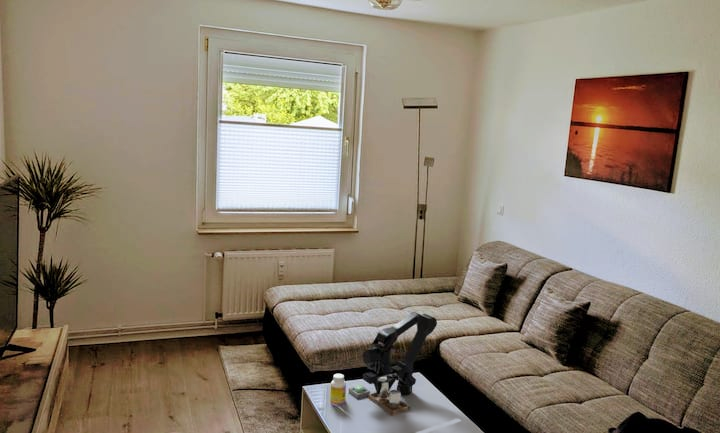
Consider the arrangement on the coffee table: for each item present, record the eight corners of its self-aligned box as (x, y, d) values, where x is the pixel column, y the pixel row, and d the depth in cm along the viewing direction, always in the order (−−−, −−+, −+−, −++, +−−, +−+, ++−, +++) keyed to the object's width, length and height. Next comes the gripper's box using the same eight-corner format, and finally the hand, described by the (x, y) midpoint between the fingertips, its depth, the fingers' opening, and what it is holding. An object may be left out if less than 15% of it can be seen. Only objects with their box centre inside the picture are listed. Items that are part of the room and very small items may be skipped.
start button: (360, 391, 259) (360, 384, 258) (365, 395, 255) (366, 388, 255) (352, 393, 257) (352, 386, 256) (357, 397, 253) (358, 390, 252)
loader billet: (395, 403, 248) (396, 388, 246) (402, 408, 243) (403, 393, 242) (386, 406, 245) (386, 391, 244) (393, 411, 241) (393, 396, 240)
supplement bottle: (343, 407, 245) (344, 379, 243) (328, 405, 246) (329, 378, 244) (346, 400, 251) (347, 373, 249) (332, 398, 253) (333, 371, 251)
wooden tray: (384, 395, 258) (384, 389, 258) (409, 412, 243) (409, 406, 243) (367, 399, 253) (367, 394, 252) (391, 417, 238) (392, 411, 237)
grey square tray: (361, 391, 261) (361, 385, 260) (369, 397, 255) (370, 391, 255) (348, 394, 257) (348, 388, 257) (356, 401, 251) (357, 394, 251)
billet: (384, 392, 255) (384, 377, 253) (390, 396, 250) (391, 381, 249) (375, 394, 252) (375, 379, 251) (381, 399, 248) (382, 384, 247)
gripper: (390, 349, 260) (389, 381, 263) (356, 356, 250) (355, 390, 252) (405, 357, 251) (403, 390, 253) (370, 366, 241) (369, 400, 243)
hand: (382, 392), depth 251 cm, fingers closed on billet, 5 cm apart
